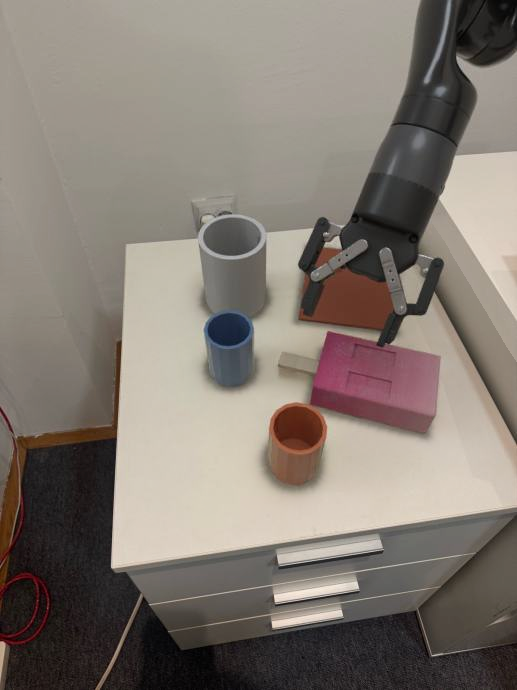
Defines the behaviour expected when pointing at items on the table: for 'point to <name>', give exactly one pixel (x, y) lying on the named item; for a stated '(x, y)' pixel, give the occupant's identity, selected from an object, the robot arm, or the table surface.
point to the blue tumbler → (230, 347)
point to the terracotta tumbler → (296, 442)
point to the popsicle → (372, 380)
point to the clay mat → (350, 299)
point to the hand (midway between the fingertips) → (343, 330)
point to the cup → (233, 263)
